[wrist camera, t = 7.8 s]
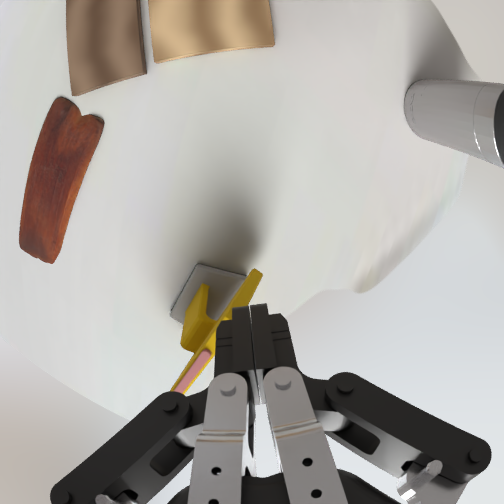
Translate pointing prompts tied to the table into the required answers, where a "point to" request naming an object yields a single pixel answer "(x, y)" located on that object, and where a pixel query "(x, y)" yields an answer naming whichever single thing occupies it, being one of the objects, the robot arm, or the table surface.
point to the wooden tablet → (56, 177)
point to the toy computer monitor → (208, 313)
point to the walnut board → (103, 43)
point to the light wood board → (208, 27)
